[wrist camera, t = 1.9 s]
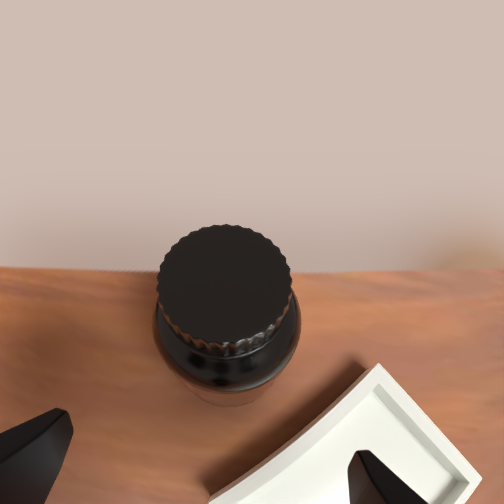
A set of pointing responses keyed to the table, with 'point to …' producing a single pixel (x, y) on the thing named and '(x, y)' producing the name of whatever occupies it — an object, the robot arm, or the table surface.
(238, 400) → the supplement bottle
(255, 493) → the ceramic tray
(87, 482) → the table surface
